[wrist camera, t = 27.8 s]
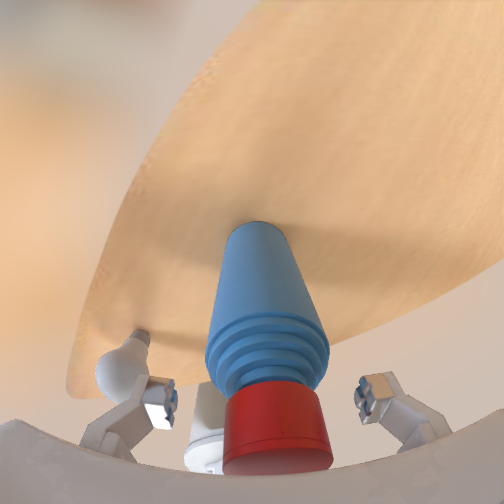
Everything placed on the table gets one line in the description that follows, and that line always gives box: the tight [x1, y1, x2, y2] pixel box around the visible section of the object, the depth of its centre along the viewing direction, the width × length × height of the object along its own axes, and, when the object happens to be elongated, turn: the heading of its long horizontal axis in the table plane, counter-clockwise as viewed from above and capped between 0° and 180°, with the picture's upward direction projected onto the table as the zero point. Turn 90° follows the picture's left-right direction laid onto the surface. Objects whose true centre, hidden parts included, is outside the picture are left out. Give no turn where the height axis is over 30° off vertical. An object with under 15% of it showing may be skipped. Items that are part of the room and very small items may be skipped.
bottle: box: [205, 222, 330, 399], centre depth 18 cm, size 6×6×22 cm
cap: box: [222, 381, 333, 475], centre depth 9 cm, size 4×4×3 cm
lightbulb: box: [95, 330, 150, 404], centre depth 27 cm, size 6×6×11 cm
